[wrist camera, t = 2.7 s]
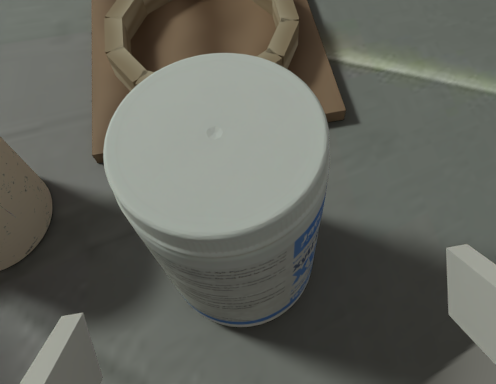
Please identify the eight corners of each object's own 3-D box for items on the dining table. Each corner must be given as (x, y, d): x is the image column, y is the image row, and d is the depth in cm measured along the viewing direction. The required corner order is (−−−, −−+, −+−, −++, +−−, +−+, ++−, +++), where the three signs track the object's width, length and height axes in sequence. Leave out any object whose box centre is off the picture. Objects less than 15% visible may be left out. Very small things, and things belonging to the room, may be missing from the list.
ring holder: (97, 163, 35) (79, 136, 32) (96, -3, 44) (81, -36, 41) (343, 119, 36) (350, 88, 32) (290, -35, 45) (291, -71, 42)
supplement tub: (326, 315, 28) (367, 222, 15) (181, 342, 28) (98, 271, 15) (293, 186, 33) (304, 30, 20) (168, 208, 33) (96, 66, 20)
